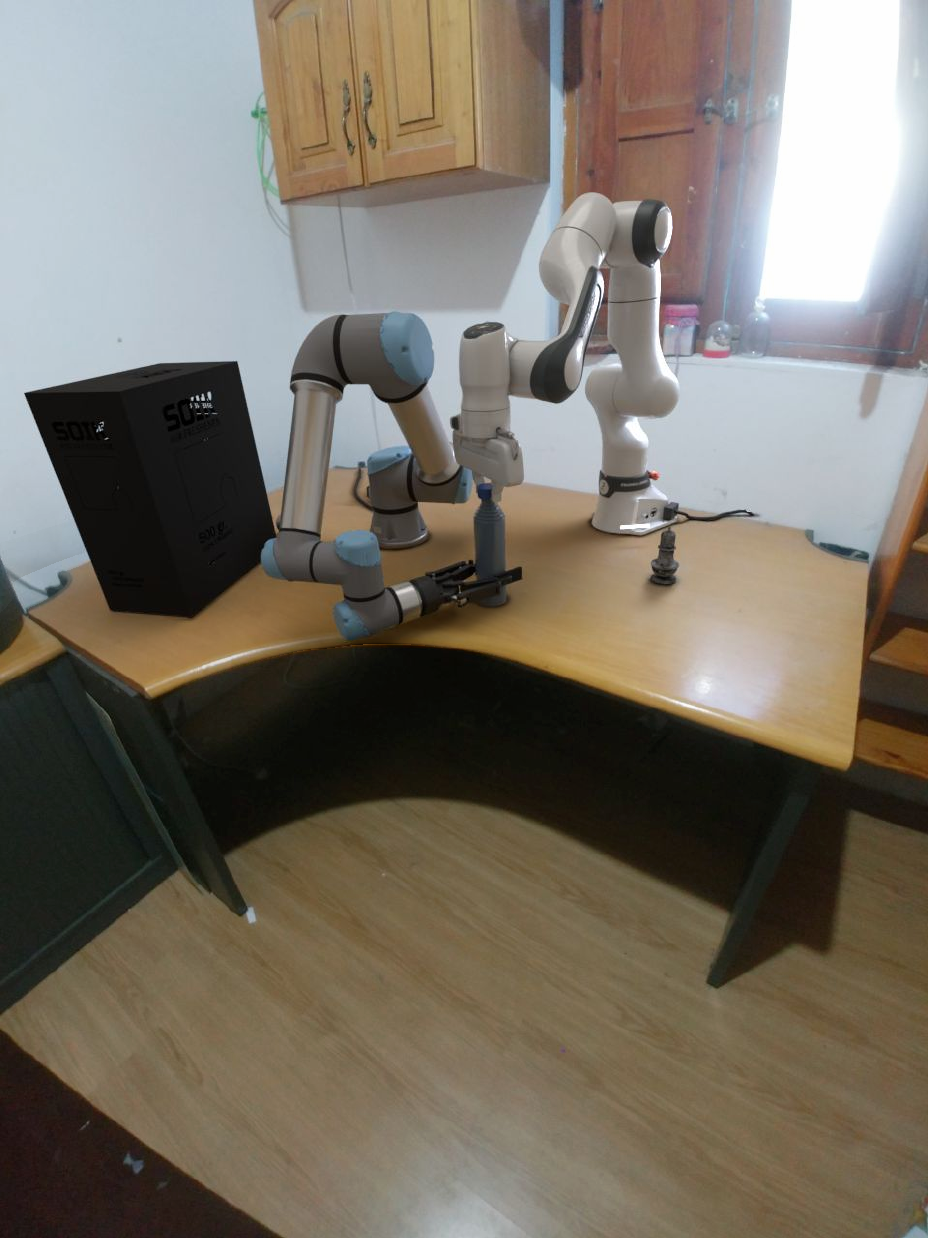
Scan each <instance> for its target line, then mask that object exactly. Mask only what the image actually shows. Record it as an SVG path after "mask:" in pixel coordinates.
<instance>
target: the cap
mask: <svg viewBox="0 0 928 1238" xmlns="http://www.w3.org/2000/svg"><path fill="white" fill-rule="evenodd" d="M492 488H493V485H492V484H491V482H485V483H483V484H480V485H478V489H477V492H478V494H477V498H478V499H479V500H481V499H482V500H490V496H489V492H492Z"/></svg>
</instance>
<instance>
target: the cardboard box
mask: <svg viewBox="0 0 928 1238" xmlns="http://www.w3.org/2000/svg"><path fill="white" fill-rule="evenodd" d="M209 393H210V397H209V395H208V394H209ZM23 394H24V397H25V399H26V402H27V405H28V407H29V410H30V412H31V414H32V418H33V420H34V423H35V425H36V427H37V430H38V431H39V432H38V433H39V435H40V437H41V440H42V442H43V445H44V447H45V450H46V452H47V455H48V457H49V460H50V463H51V465H52V467H53V470H54V473H55V475H56V478H57V480H58V483H59V486H60V488H61V490H62V493H63V495H64V498H65V501H66V503H67V505H68V509H69V510H70V513H71V516H72V518H73V520H74V523H75V525H76V528H77V532H78V533H79V536H80V538H81V541H82V544H83V546H84V548H85V551H86V554H87V555H88V558H89V561H90V563H91V566H92V568H93V571H94V574H95V576H96V579H97V581H98V584H99V587H100V589H101V591H102V594H103V597H104V598H105V601H106V603H107V607H108V609H109V611H110V612H119V613H120V612H122V613H133V614H146V615H157V616H160V615H161V616H170V617H171V616H172V617H183V618H193V617H194V616H195V615H196V614H197V613H199V612H200V611H202V610H203V609H204V608H205V607H206V606H208V605H209V604H210V603H211V602H213V600H214V599H216V598H217V597H218V596H219V595H221V594H222V593H223V592H225V591H226V590H227V589H228V588H230V586H232V585H233V584H234V583H235V582H237V581H238V580H239V579H240V578H242V577H243V576H244V575H246V573H248V572H249V571H250V570H252V568H254V567H256V565H258V564H259V563H261V552H262V549H264V545H265V543H266V542H267V541H268V540H270V539H275V538H278V536H277V533H276V529H275V524H274V520H273V515H272V510H271V505H270V502H269V497H268V493H267V487H266V483H265V479H264V474H263V471H262V466H261V461H260V457H259V452H258V447H257V444H256V439H255V434H254V429H253V425H252V421H251V417H250V416H251V415H250V411H249V408H248V403H247V398H246V394H245V388H244V385H243V379H242V376H241V371H240V367H239V361H238V360H227V361H226V360H225V361H224V360H223V361H189V362H188V361H187V362H159V363H155V364H149V365H145V366H140V367H136V368H131V369H126V370H123V371H117V372H114V373H113V372H112V373H109V374H104V375H100V376H95V377H90V378H86V379H81V380H77V381H72V382H68V383H62V384H58V385H54V386H53V385H52V386H49V387H44V388H40V389H35V390H32V391H31V390H30V391H26V392H23ZM197 397H198V398H197ZM192 398H193V399H192ZM202 398H203V399H204V400H202Z"/></svg>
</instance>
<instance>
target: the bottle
mask: <svg viewBox="0 0 928 1238" xmlns="http://www.w3.org/2000/svg"><path fill="white" fill-rule="evenodd" d="M472 519H473V520H472V523H473V541H474V564H475V568H476V575H475V580H482V579H488V578H494V575H495V574H498V573H501V572H504V571H507V545H506V540H507V537H506V536H507V535H506V515H505V512H504V511H503V509H502V508H501V506H500V505H499V502H496V503H494V502H492V501H491V500H482V499H480V503H479V506H478V507H477V508H476V510H475V512H474V513H473V517H472ZM507 599H508V598H507V585H505V586H502V587H501V594H500V595H498V596H494V597H491V598H487V599H484V600H481V601H477V602H476V603H478V604H479V605H481V606H484V607H489V608H492V607H498V606H501V605H504V604H505V603H506V602H507Z"/></svg>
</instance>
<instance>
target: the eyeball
mask: <svg viewBox="0 0 928 1238" xmlns="http://www.w3.org/2000/svg"><path fill="white" fill-rule="evenodd" d="M280 518H281V513H280V514H279V515H278V516H277V517H276V520H275V527H276V529H277V530H278V531H279V527H280Z"/></svg>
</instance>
